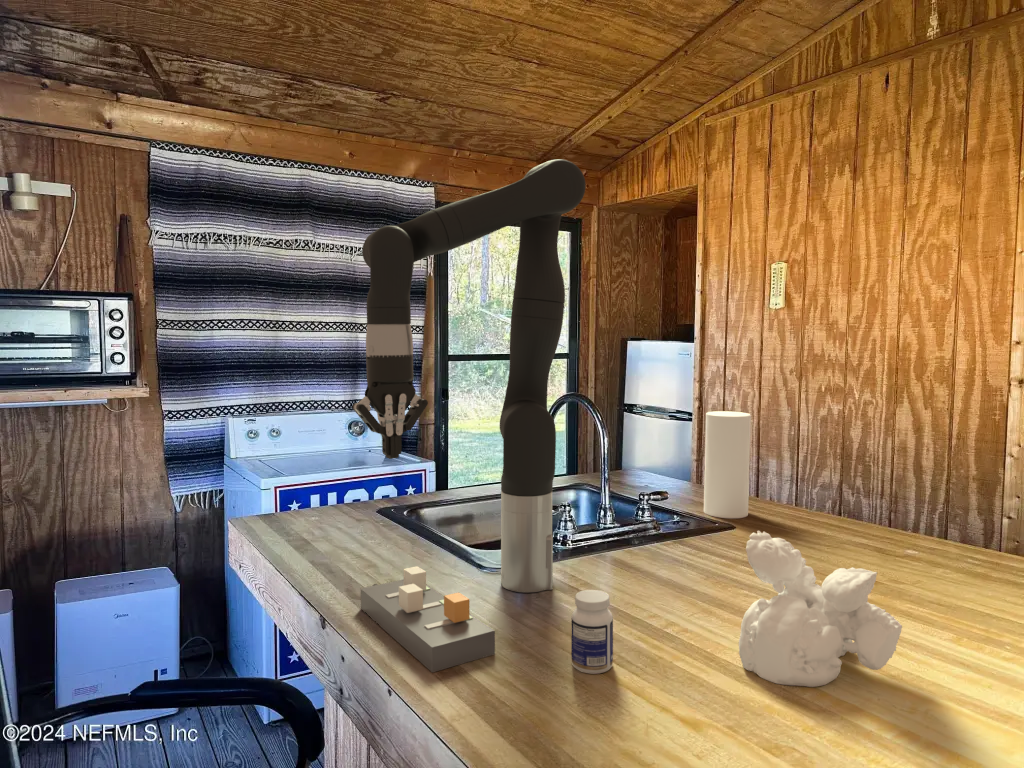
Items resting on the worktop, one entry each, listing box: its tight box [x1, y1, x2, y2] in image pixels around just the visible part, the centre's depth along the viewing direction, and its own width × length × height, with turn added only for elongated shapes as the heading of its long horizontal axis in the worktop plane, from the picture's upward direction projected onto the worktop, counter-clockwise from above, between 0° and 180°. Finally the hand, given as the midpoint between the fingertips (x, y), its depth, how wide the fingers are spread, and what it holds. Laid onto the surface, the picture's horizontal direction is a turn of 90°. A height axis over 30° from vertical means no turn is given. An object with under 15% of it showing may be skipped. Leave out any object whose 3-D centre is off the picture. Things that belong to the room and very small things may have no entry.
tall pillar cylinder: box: [703, 410, 752, 519], centre depth 180 cm, size 11×11×25 cm
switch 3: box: [443, 592, 471, 623], centre depth 106 cm, size 2×3×3 cm
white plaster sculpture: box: [738, 530, 903, 688], centre depth 100 cm, size 19×20×20 cm
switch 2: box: [399, 584, 423, 613], centre depth 110 cm, size 2×3×3 cm
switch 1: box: [403, 565, 427, 590], centre depth 118 cm, size 2×3×3 cm
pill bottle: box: [570, 589, 614, 675], centre depth 100 cm, size 6×6×10 cm
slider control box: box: [359, 578, 496, 673], centre depth 114 cm, size 32×10×4 cm, turn 33°
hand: (392, 457), depth 119 cm, fingers closed
